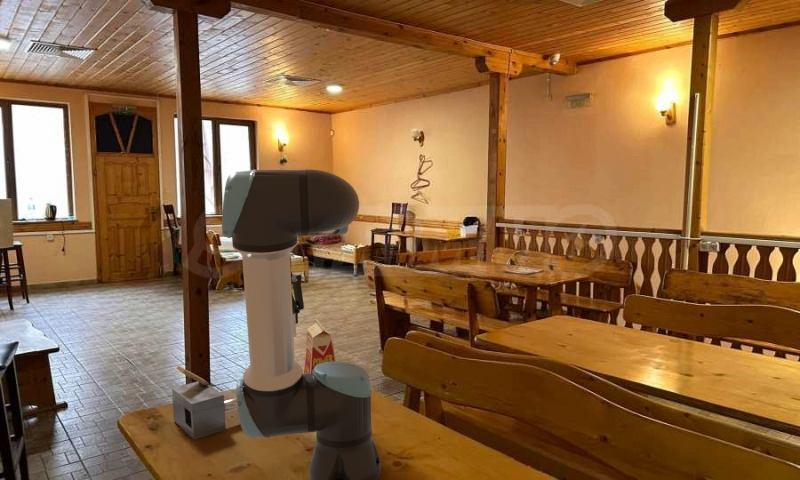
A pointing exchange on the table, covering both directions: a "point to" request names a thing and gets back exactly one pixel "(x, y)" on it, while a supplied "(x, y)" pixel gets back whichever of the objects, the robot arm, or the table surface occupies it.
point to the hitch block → (198, 409)
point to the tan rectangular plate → (192, 376)
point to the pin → (230, 405)
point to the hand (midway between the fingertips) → (280, 338)
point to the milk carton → (318, 347)
